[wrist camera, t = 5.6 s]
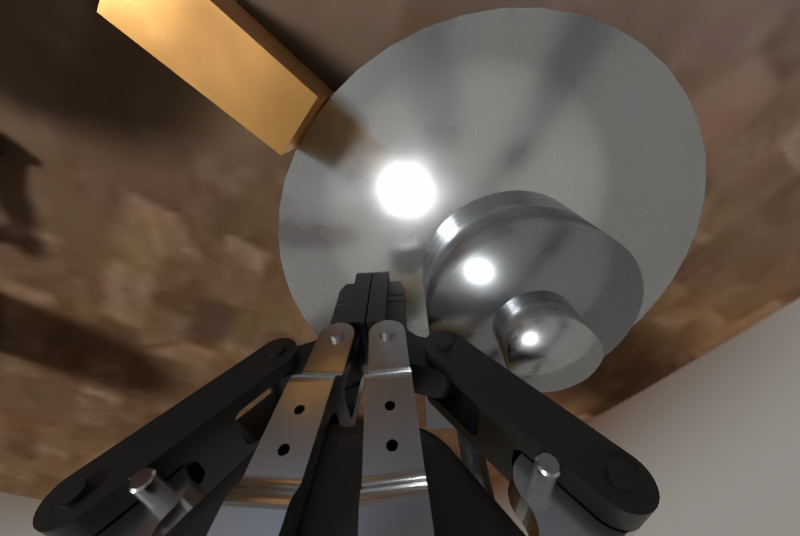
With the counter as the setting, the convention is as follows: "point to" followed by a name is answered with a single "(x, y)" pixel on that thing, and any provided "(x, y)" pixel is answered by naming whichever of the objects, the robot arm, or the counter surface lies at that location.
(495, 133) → the frying pan
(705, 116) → the counter surface
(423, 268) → the cover
